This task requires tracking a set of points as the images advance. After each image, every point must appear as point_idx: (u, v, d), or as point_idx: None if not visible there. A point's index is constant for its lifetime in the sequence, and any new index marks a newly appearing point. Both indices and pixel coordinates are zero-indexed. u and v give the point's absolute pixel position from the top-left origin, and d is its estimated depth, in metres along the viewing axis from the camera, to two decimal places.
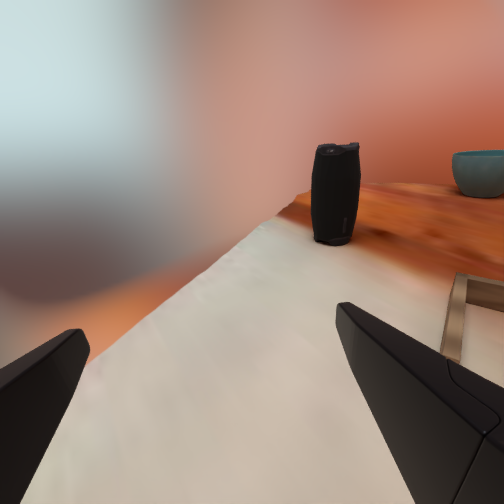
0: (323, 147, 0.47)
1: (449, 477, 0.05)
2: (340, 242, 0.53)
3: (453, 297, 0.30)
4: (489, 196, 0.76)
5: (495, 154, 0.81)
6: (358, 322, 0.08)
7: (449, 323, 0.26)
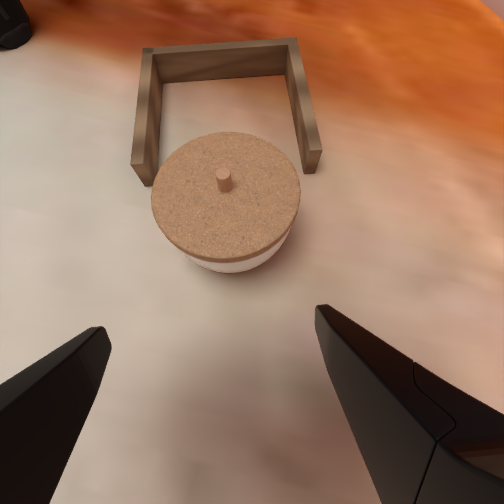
0: None
1: (410, 482, 0.05)
2: (18, 38, 0.36)
3: (139, 88, 0.28)
4: None
5: None
6: (332, 325, 0.08)
7: (135, 125, 0.26)
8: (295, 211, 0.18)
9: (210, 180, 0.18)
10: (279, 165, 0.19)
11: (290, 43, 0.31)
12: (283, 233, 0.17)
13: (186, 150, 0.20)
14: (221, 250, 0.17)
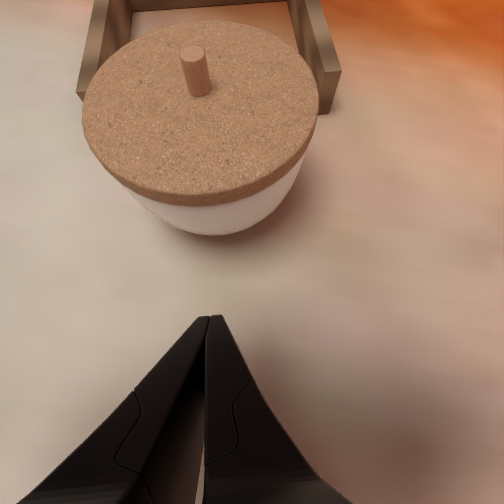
0: None
1: None
2: None
3: (95, 2, 0.21)
4: None
5: None
6: (208, 337, 0.07)
7: (86, 44, 0.19)
8: (312, 123, 0.11)
9: (176, 80, 0.12)
10: (285, 59, 0.12)
11: None
12: (293, 156, 0.11)
13: (141, 42, 0.13)
14: (190, 181, 0.10)
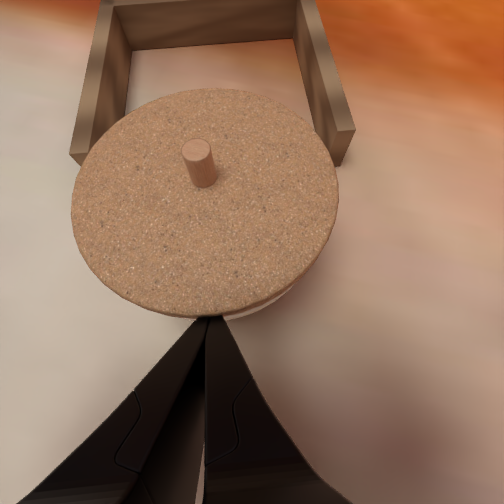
0: None
1: None
2: None
3: (92, 48, 0.20)
4: None
5: None
6: (208, 337, 0.07)
7: (81, 98, 0.18)
8: (332, 221, 0.10)
9: (177, 166, 0.10)
10: (299, 139, 0.11)
11: None
12: (311, 263, 0.09)
13: (139, 117, 0.11)
14: (193, 299, 0.09)
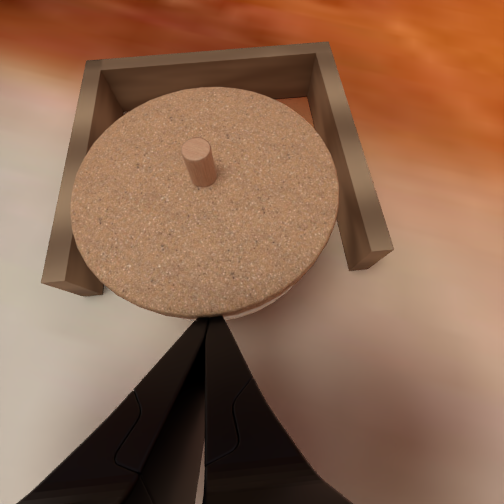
0: None
1: None
2: None
3: (73, 129, 0.17)
4: None
5: None
6: (208, 337, 0.07)
7: (59, 199, 0.15)
8: (331, 224, 0.09)
9: (178, 165, 0.10)
10: (301, 140, 0.11)
11: (319, 50, 0.19)
12: (309, 266, 0.09)
13: (141, 114, 0.11)
14: (189, 299, 0.08)
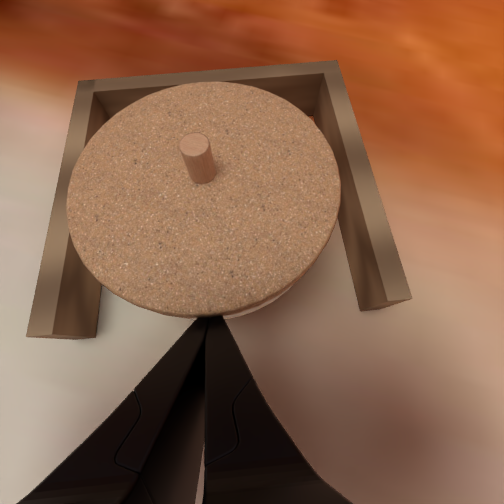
0: None
1: None
2: None
3: (64, 158, 0.16)
4: None
5: None
6: (208, 337, 0.07)
7: (47, 239, 0.14)
8: (333, 222, 0.09)
9: (176, 161, 0.10)
10: (302, 136, 0.10)
11: (327, 70, 0.18)
12: (310, 265, 0.09)
13: (139, 109, 0.11)
14: (187, 298, 0.08)
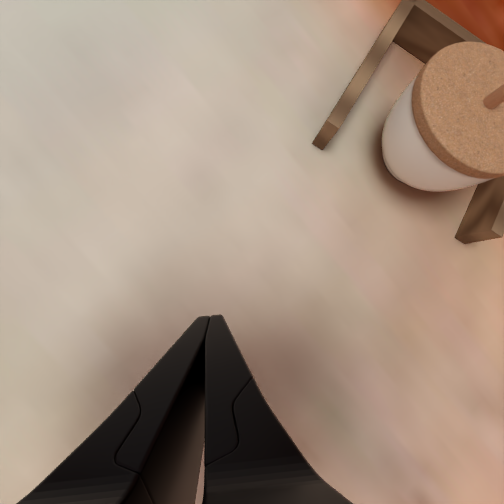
0: None
1: None
2: None
3: (380, 37, 0.24)
4: None
5: None
6: (208, 337, 0.07)
7: (354, 79, 0.23)
8: None
9: (481, 88, 0.19)
10: None
11: None
12: None
13: (476, 48, 0.19)
14: (456, 148, 0.18)
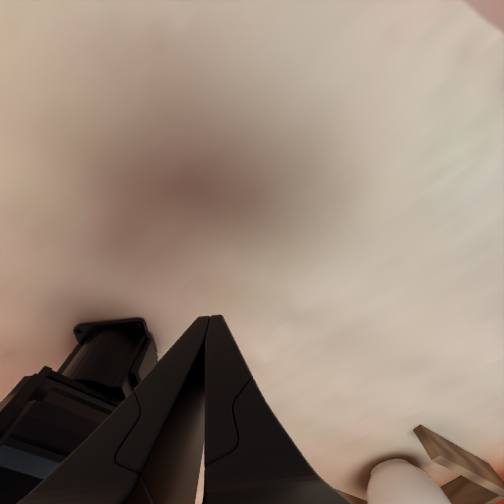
0: None
1: None
2: None
3: (485, 480, 0.34)
4: None
5: None
6: (208, 337, 0.07)
7: (462, 468, 0.32)
8: None
9: None
10: None
11: None
12: None
13: None
14: None
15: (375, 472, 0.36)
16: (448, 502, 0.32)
